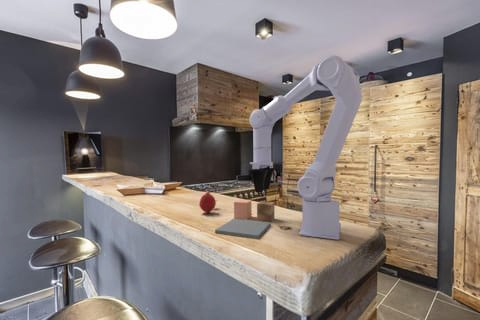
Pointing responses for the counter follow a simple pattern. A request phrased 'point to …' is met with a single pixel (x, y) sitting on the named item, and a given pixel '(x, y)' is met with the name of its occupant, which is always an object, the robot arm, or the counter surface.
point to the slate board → (244, 228)
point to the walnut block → (265, 211)
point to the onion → (207, 202)
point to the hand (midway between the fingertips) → (262, 190)
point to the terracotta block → (242, 209)
